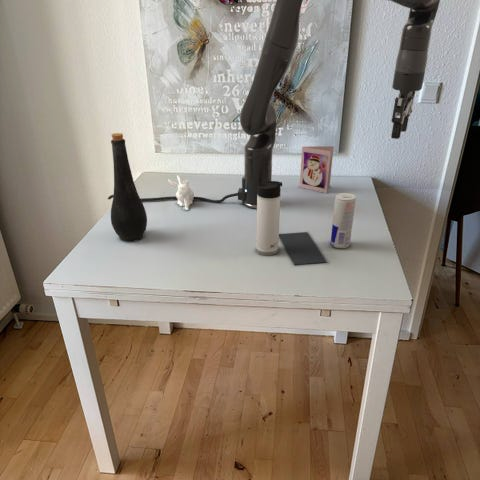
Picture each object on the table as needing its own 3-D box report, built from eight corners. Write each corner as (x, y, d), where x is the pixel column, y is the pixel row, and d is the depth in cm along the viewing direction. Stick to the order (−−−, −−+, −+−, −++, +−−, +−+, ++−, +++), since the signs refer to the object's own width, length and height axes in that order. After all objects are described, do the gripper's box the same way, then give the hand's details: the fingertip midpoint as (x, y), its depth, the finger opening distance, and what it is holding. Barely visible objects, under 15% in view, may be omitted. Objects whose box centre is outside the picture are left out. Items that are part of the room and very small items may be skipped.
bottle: (155, 232, 151) (143, 131, 135) (138, 246, 143) (124, 140, 126) (125, 227, 154) (110, 128, 137) (107, 241, 146) (89, 137, 129)
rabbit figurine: (188, 210, 166) (186, 182, 160) (166, 209, 167) (164, 181, 162) (197, 198, 176) (195, 171, 170) (176, 197, 177) (174, 170, 171)
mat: (278, 235, 149) (278, 234, 149) (306, 233, 151) (307, 232, 150) (294, 265, 133) (294, 264, 133) (326, 262, 134) (326, 261, 134)
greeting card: (298, 187, 185) (301, 147, 176) (307, 182, 190) (310, 142, 181) (325, 193, 179) (329, 152, 171) (334, 188, 184) (338, 147, 176)
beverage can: (351, 243, 144) (358, 194, 136) (346, 250, 140) (353, 200, 132) (333, 239, 146) (338, 191, 138) (327, 247, 142) (333, 197, 134)
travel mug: (277, 256, 137) (280, 187, 126) (254, 254, 138) (255, 185, 127) (280, 247, 142) (283, 179, 131) (258, 245, 143) (259, 178, 132)
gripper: (401, 65, 132) (390, 127, 141) (389, 71, 122) (378, 139, 131) (429, 66, 129) (417, 130, 138) (420, 73, 119) (407, 142, 128)
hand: (398, 134), depth 135 cm, fingers open, 8 cm apart
